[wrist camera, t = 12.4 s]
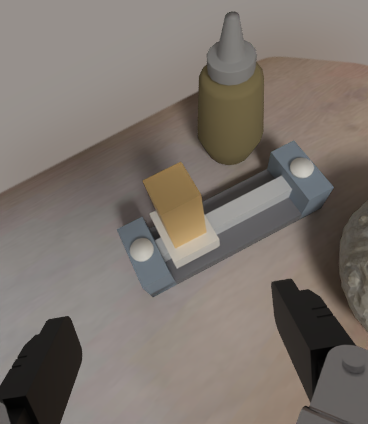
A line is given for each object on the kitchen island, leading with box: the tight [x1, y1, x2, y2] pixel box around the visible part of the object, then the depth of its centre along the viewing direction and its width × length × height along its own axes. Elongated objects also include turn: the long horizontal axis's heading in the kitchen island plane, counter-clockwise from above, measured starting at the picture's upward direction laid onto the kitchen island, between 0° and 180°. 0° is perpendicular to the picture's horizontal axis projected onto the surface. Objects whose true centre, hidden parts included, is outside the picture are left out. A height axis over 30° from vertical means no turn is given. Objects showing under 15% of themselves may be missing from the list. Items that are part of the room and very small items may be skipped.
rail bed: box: [117, 141, 334, 297], centre depth 35 cm, size 22×7×5 cm, turn 117°
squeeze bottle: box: [198, 12, 264, 165], centre depth 34 cm, size 8×8×18 cm
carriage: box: [143, 162, 220, 269], centre depth 30 cm, size 5×6×12 cm
